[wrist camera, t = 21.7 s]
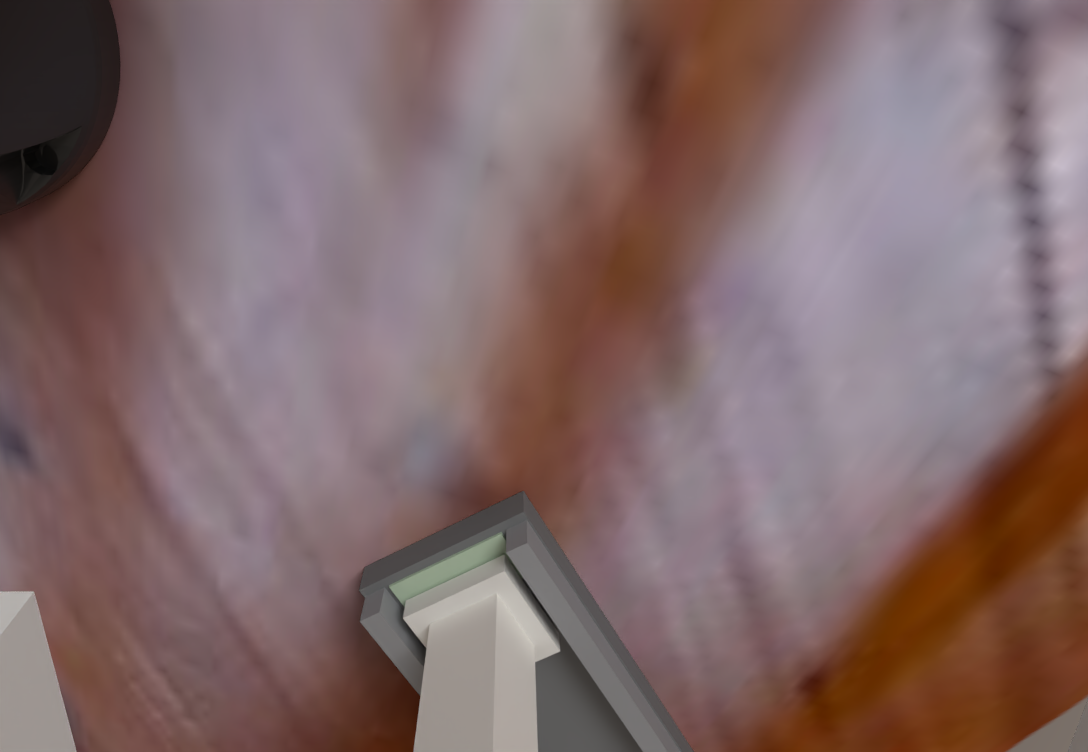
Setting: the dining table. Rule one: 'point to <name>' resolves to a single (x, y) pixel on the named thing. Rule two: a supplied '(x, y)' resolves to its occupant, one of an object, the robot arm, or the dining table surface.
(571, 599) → the switch base
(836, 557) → the dining table surface
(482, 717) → the switch lever
